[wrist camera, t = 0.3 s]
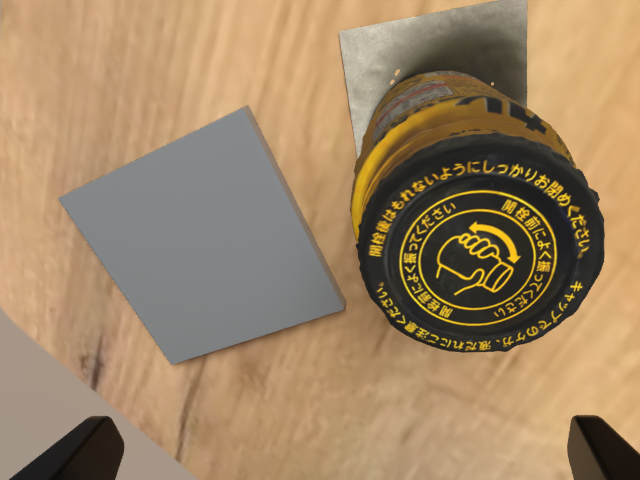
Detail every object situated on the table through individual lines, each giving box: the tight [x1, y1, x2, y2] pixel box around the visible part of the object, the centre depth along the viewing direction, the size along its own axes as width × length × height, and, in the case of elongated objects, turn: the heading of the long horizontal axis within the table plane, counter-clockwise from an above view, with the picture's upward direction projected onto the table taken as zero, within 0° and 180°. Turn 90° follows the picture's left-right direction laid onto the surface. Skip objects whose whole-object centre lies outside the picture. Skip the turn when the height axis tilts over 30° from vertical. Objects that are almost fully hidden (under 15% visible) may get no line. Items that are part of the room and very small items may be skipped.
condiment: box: [339, 0, 605, 353], centre depth 15 cm, size 7×8×12 cm
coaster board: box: [58, 105, 346, 365], centre depth 24 cm, size 11×11×1 cm
